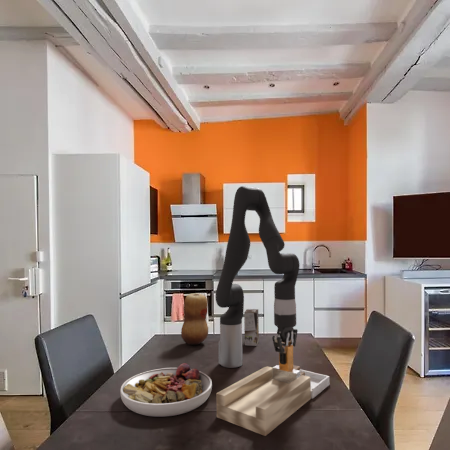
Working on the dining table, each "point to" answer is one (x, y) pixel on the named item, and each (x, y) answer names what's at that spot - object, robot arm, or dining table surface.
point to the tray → (317, 382)
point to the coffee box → (251, 327)
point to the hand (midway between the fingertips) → (285, 361)
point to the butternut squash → (195, 319)
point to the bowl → (166, 391)
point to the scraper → (286, 368)
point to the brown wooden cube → (296, 367)
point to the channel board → (262, 400)
